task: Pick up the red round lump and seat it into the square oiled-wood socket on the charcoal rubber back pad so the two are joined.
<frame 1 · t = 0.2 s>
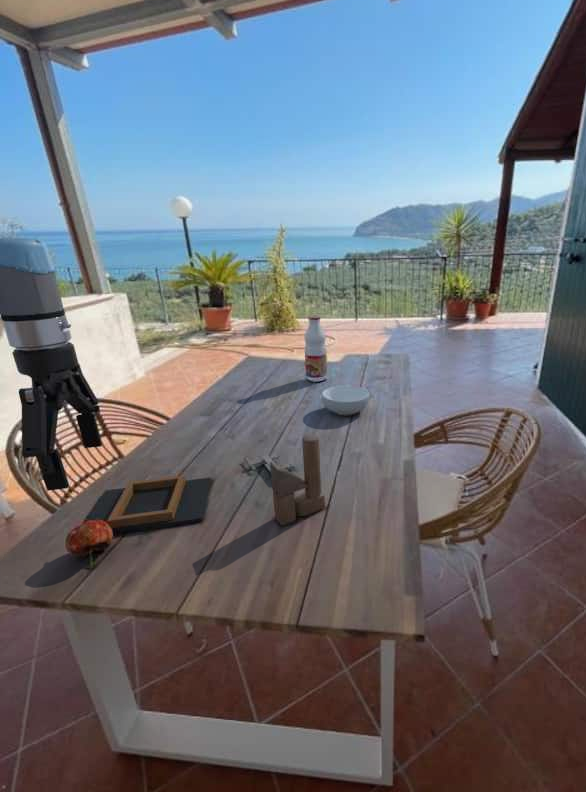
hand: (77, 465, 67), 21 cm above the table, tool pointing down, fingers open, 13 cm apart
back pad: (151, 507, 89), on the table
cereal bowl: (346, 411, 140), on the table
red round lump: (94, 554, 75), on the table
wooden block: (300, 513, 87), on the table
fruit juice: (316, 379, 173), on the table
clamp: (271, 469, 104), on the table
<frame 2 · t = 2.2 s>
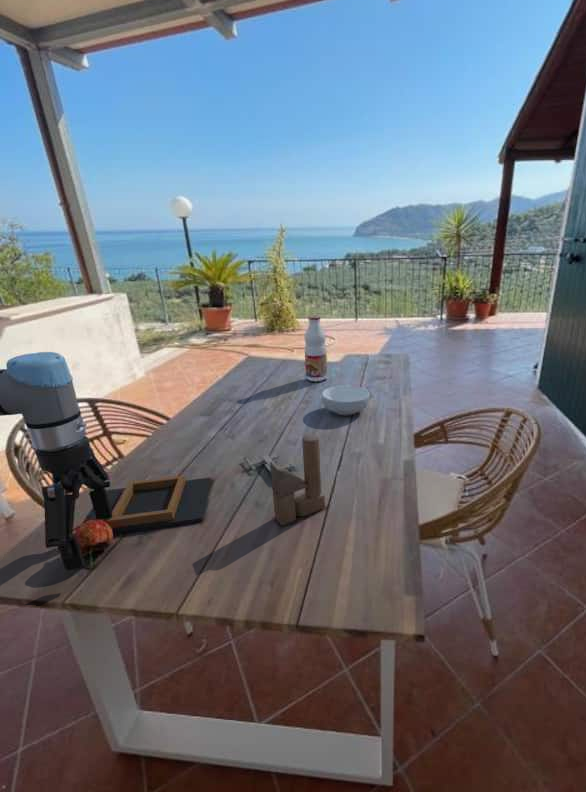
hand: (91, 540, 74), 3 cm above the table, tool pointing down, fingers open, 13 cm apart
nothing on the table moved.
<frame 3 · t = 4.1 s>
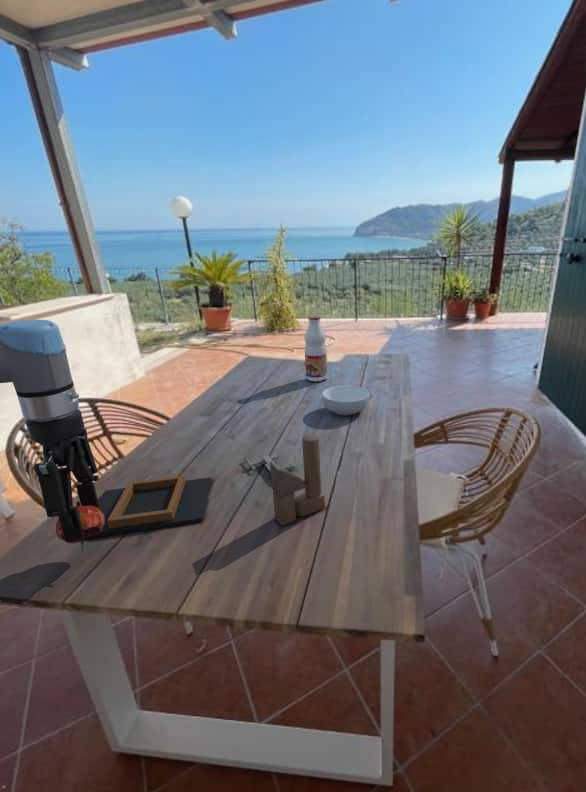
hand: (84, 525, 73), 7 cm above the table, tool pointing down, fingers closed on red round lump, 7 cm apart
red round lump: (85, 541, 74), point 4 cm above the table, touching gripper
everything else where it was.
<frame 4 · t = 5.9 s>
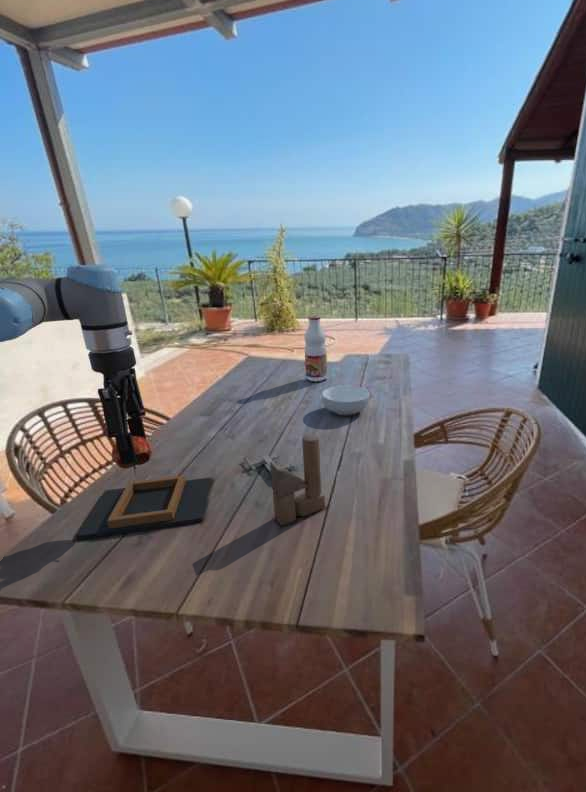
hand: (135, 453, 83), 15 cm above the table, tool pointing down, fingers closed on red round lump, 7 cm apart
red round lump: (136, 468, 83), point 11 cm above the table, touching gripper
everything else where it was.
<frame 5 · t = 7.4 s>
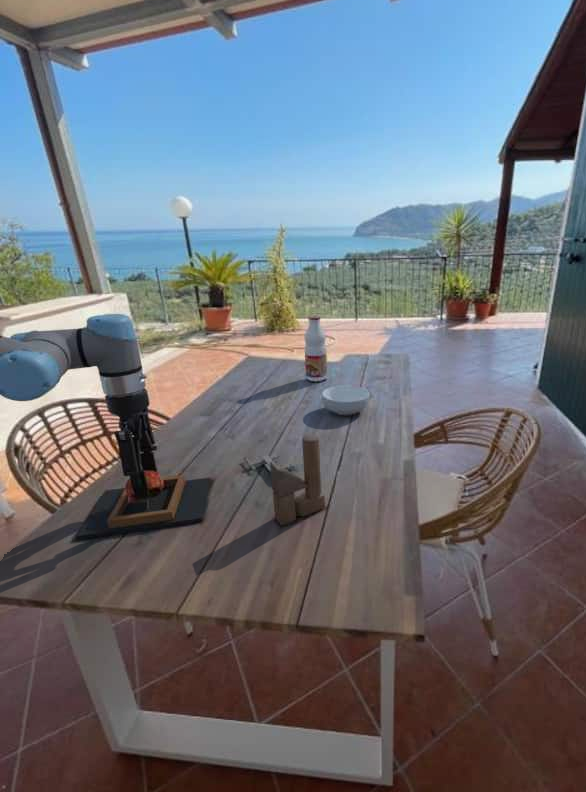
hand: (147, 486, 87), 5 cm above the table, tool pointing down, fingers closed on red round lump, 7 cm apart
red round lump: (148, 500, 88), point 2 cm above the table, touching gripper
everything else where it was.
when the fingers open (4 cm above the table, at t = 8.2 s): red round lump stays where it is, resting on back pad.
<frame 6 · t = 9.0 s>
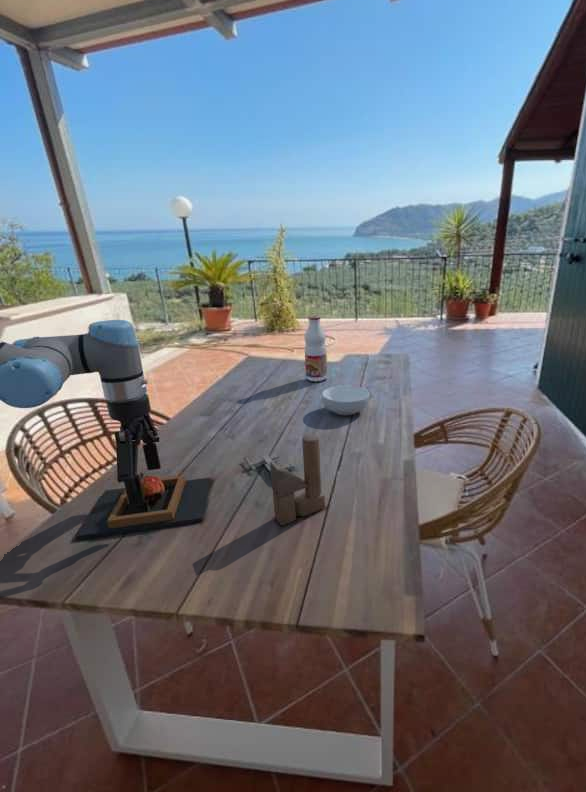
hand: (146, 485, 87), 6 cm above the table, tool pointing down, fingers open, 13 cm apart
red round lump: (149, 505, 88), point 1 cm above the table, touching back pad
everything else where it was.
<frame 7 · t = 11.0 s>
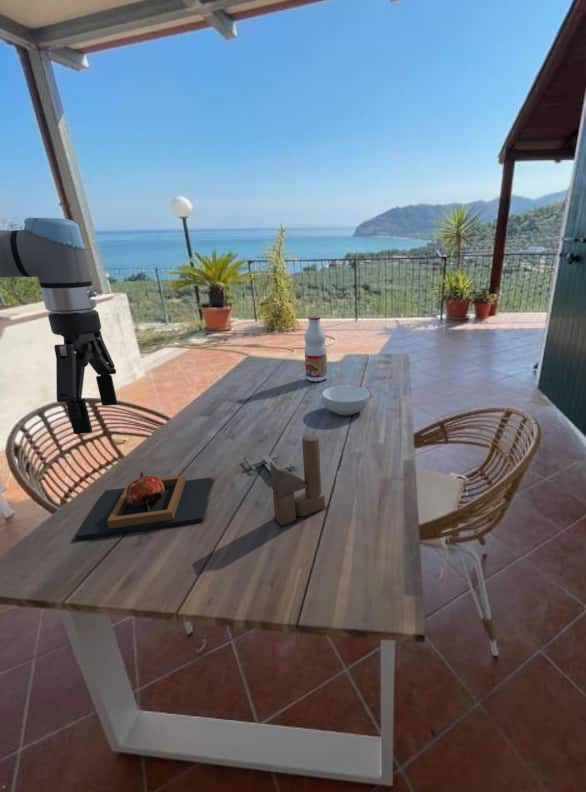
hand: (97, 417, 77), 24 cm above the table, tool pointing down, fingers open, 13 cm apart
nothing on the table moved.
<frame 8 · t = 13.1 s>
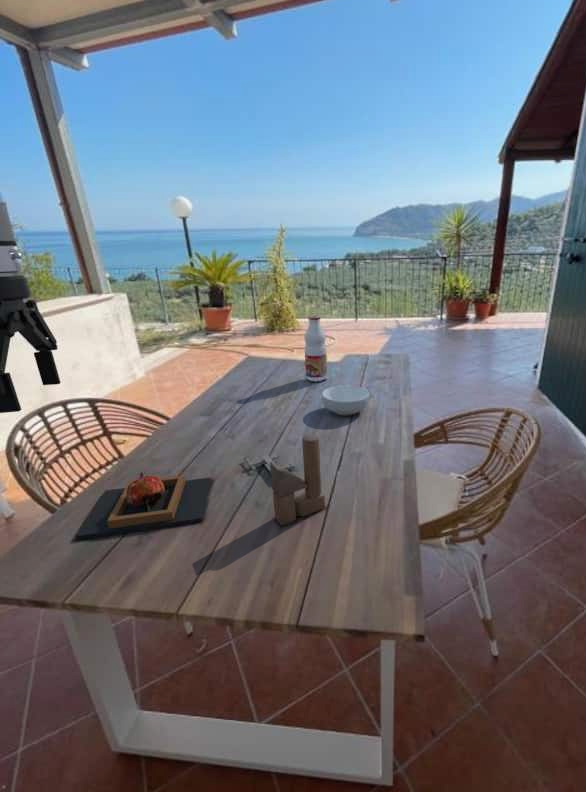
hand: (33, 396, 70), 31 cm above the table, tool pointing down, fingers open, 13 cm apart
nothing on the table moved.
at the end: red round lump 0.5 cm off-centre on the back pad, point 0.8 cm above the back pad's base; red round lump touching back pad; the gripper is holding nothing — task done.
